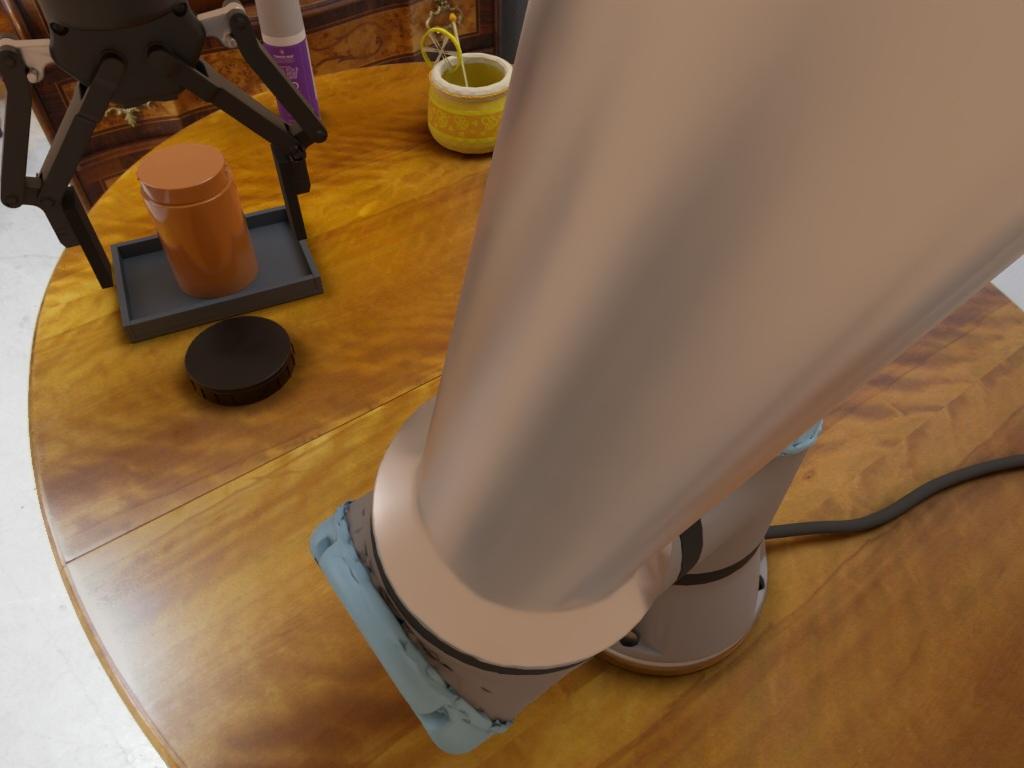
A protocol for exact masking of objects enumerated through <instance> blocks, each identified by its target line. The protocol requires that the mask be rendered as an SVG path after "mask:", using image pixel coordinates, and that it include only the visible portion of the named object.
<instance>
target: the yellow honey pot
mask: <svg viewBox="0 0 1024 768" xmlns="http://www.w3.org/2000/svg"><path fill="white" fill-rule="evenodd" d="M448 20H449V21H450V22H451V25H452V29H453V34H454V35H453V34H452V33H450V32H449V31H448V30H446V29H445V28H442V27H432V28H429V29H428V30H427V31H426V32H425V33H424V34H423V35H422V36H421V40H420V52H421V55H422V58H423V60H424V62H425V63H426V64H427V65H428V66H429V67H430V71H429V73H428V80H429V83H430V85H429V89H428V97H427V98H428V100H427V125H428V126H427V127H428V130H429V132H430V134H431V136H432V138H433V139H434V140H435V141H436V142H437V143H438V144H439V145H440V146H442V147H443V148H445V149H448V150H450V151H453V152H454V151H455V152H458V153H461V154H467V155H468V154H469V155H483V154H488V153H493V152H494V147H495V143H496V139H497V134H498V130H499V126H500V122H501V117H502V113H503V109H504V104H505V100H506V96H507V91H508V87H509V83H510V78H511V74H512V70H513V66H512V65H511V63H509V61H507V60H506V59H503V58H501V57H499V56H497V55H493V54H489V53H483V52H465V53H463V52H462V49H461V44H460V39H459V34H458V33H459V32H458V28H457V24H456V21H457V16H456V14H455V13H454V12H451V13H450V14H449V17H448ZM435 32H437V33H441V34H443V36H444V39H443V41H442V44H441V45H440V43H439V41H438V39H437V37H436V35H435ZM428 36H429V39H431V41H432V43H433V44H434V45H435V47H436V48H434V47H430V46H427V45H426V39H427V37H428ZM449 40H450V41H451V42H452V44H453V45H454V47H455V49H456V51H455V50H444V49H445V47H446V45H447V43H448V42H449ZM427 52H428V53H438V56H437V57H436V59H435V61H434V62H432V61H431V60H430V58H429V56H428V54H427ZM446 55H449V56H446ZM441 58H442V60H440V59H441Z"/></svg>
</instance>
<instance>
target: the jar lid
mask: <svg viewBox="0 0 1024 768" xmlns="http://www.w3.org/2000/svg"><path fill="white" fill-rule="evenodd" d="M296 365H297V363H296V352H295V348H294V345H293V342H292V341H291V337H290V336H289V333H288V332H287V330H286V329H285V328H284V327H283V326H282V325H280V324H279V323H278V322H276V321H274V320H272V319H270V318H266V317H263V316H257V315H240V316H233V317H229V318H225V319H222V320H219V321H218V322H216V323H214V324H211V325H209V326H208V327H207V328H205V329H203V330H202V331H200V332H199V334H197V335H196V336H195V337H194V339H192V341H191V342H190V344H189V345H188V347H187V349H186V351H185V356H184V366H185V367H184V368H185V372H186V373H187V376H188V378H189V381H190V384H191V385H192V388H193V390H194V391H195V392H196V393H198V395H200V396H201V397H202V398H203V399H204V400H206V401H209V402H211V403H214V404H217V405H222V406H233V407H234V406H243V405H248V404H249V405H250V404H254V403H256V402H258V401H261V400H264V399H266V398H268V397H270V396H272V395H273V394H275V393H276V392H277V391H279V390H280V389H282V388H283V386H285V384H286V383H288V381H289V379H290V378H291V377H292V374H293V372H294V369H295V366H296Z"/></svg>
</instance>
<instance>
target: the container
mask: <svg viewBox="0 0 1024 768" xmlns="http://www.w3.org/2000/svg"><path fill="white" fill-rule="evenodd" d="M254 2H255V3H254V4H255V8H256V14H257V17H258V22H259V27H260V32H261V38H262V43H263V47H264V48H265V49H266V50H267V52H268V53H269V54H270V55H271V57H272V58H273V59H274V60H275V62H276V63H277V64H278V65H279V66H280V68H281V69H282V70H283V71H284V73H285V74H286V75H287V76H288V78H289V79H290V80H291V81H292V83H293V84H294V85H295V86H296V88H297V89H298V90H299V91H300V93H301V94H302V95H303V96H304V98H305V99H306V100H307V101H308V103H309V104H310V105H311V106H312V107H313V109H314V110H315V111H316V112H317V114H318V116H319V117H320V119H321V120H322V116H321V111H320V105H319V99H318V95H317V88H316V83H315V82H316V81H315V78H314V71H313V66H312V60H311V56H310V51H309V43H308V38H307V34H306V29H305V24H304V19H303V15H302V9H301V4H300V0H254ZM275 101H276V105H277V110H278V113H279V117H280V118H282V119H283V120H284V121H286V122H287V123H289V124H290V125H292V124H293V123H295V122H296V121H295V120H294V118H293V117H292V116H291V115H290V114H289V112H288V111H287V110H286V109H285V108H284V106H283V105H282V104H281V103H280V102H279V101H278V99H277V98H276V97H275Z"/></svg>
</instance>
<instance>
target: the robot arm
mask: <svg viewBox="0 0 1024 768" xmlns="http://www.w3.org/2000/svg"><path fill="white" fill-rule="evenodd" d="M37 2H38V5H39V6H40V9H41V11H42V14H43V16H44V19H45V21H46V24H47V27H48V29H49V34H48V38H36V39H33V38H32V39H20V38H18V37H17V35H15V34H13V33H10V32H2V33H0V75H1V78H2V81H3V83H4V87H5V101H4V115H3V116H4V117H3V133H2V147H1V162H0V163H1V164H0V203H1V204H2V205H3V206H4V207H6V208H7V209H8V208H9V209H18V208H21V207H22V206H32V207H36V208H38V209H39V210H41V211H42V212H43V213H44V215H45V218H46V219H47V220H48V223H49V224H50V226H51V229H52V230H53V232H54V234H55V235H56V238H57V240H58V241H59V244H61V245H62V246H63V247H65V249H70V248H74V247H79V246H80V248H81V249H82V252H83V253H84V256H85V257H86V260H87V261H88V263H89V266H90V267H91V269H92V271H93V273H94V276H95V277H96V279H97V281H98V284H99V285H100V287H101V289H102V290H106V289H109V288H114V287H115V284H114V278H113V271H112V270H113V269H112V264H111V261H110V259H109V257H108V255H107V253H106V251H105V249H104V246H103V245H102V243H101V240H100V239H99V236H98V234H97V232H96V231H95V229H94V227H93V224H92V221H91V219H90V218H89V215H88V213H87V212H86V210H85V207H84V204H83V203H82V201H81V198H80V197H79V195H78V193H77V190H76V188H75V187H74V185H70V183H71V182H72V179H73V176H74V175H75V172H76V170H77V168H78V166H79V164H80V161H81V159H82V157H83V155H84V153H85V151H86V149H87V147H88V145H89V142H90V140H91V138H92V136H93V134H94V131H95V130H96V128H97V125H99V124H100V123H101V122H102V120H103V117H104V116H105V113H106V112H107V109H108V107H109V105H110V104H113V105H116V106H121V107H122V106H123V108H124V110H128V109H134V108H138V107H140V106H143V105H145V104H148V103H149V102H163V103H165V102H171V101H176V100H179V98H178V96H180V95H181V94H183V93H184V92H185V91H186V90H187V91H188V92H190V93H191V94H193V95H194V96H196V97H197V98H198V99H200V100H201V101H204V102H205V103H207V104H209V103H210V104H212V105H213V106H215V107H216V108H218V109H219V110H221V111H222V112H224V113H225V114H227V115H229V116H230V117H231V118H232V119H234V120H235V121H237V123H240V124H242V125H243V126H244V127H246V128H247V129H249V130H250V131H252V132H253V133H254V134H256V135H258V136H259V137H260V138H262V139H263V140H265V141H266V142H268V143H270V144H269V146H270V150H271V154H272V158H273V162H274V165H275V170H276V174H277V179H278V182H279V186H280V190H281V194H282V199H283V202H284V205H285V207H286V211H287V215H288V219H289V222H290V225H291V227H292V229H293V232H294V234H295V237H296V239H297V241H301V240H305V241H306V240H307V239H308V236H307V231H306V226H305V222H304V218H303V214H302V209H301V204H300V201H299V197H298V196H299V195H304V194H308V193H310V191H311V188H312V184H311V180H310V175H309V171H308V166H307V162H306V158H307V151H306V150H307V149H308V148H309V147H310V146H312V145H314V144H323V143H325V142H326V141H327V139H328V137H329V134H328V130H327V129H326V126H325V125H324V123H323V121H322V118H321V119H320V117H319V116H318V114H317V112H316V111H315V110H314V109H313V107H312V106H311V105H310V104H309V103H308V101H307V100H306V99H305V98H304V96H303V95H302V94H301V93H300V91H299V90H298V89H297V88H296V86H295V85H294V84H293V83H292V81H291V80H290V79H289V78H288V76H287V75H286V74H285V73H284V71H283V70H282V69H281V68H280V66H279V65H278V64H277V63H276V62H275V60H274V59H273V58H272V57H271V55H270V54H269V53H268V52H267V50H266V49H265V48H264V44H262V42H260V40H259V39H258V38H257V36H256V33H255V31H254V28H253V25H252V23H251V20H250V18H249V16H248V14H247V12H246V10H245V8H244V6H243V4H242V2H241V1H240V0H224V1H223V2H222V5H221V7H219V8H216V9H213V10H209V11H205V12H202V13H198V14H197V12H196V11H195V10H194V9H193V8H192V6H191V5H190V4H189V1H188V0H37ZM521 27H522V28H521V31H520V36H519V41H518V44H517V49H516V53H515V57H514V62H513V66H512V67H513V70H512V74H511V78H510V83H509V87H508V91H507V96H506V100H505V104H504V109H503V113H502V117H501V122H500V126H499V130H498V134H497V139H496V143H495V147H494V151H493V152H492V157H491V161H490V165H489V169H488V174H487V178H486V182H485V187H484V191H483V195H482V200H481V204H480V207H479V211H478V217H477V221H476V225H475V229H474V234H473V238H472V244H471V247H470V251H469V256H468V260H467V264H466V268H465V273H464V276H463V282H462V285H461V289H460V294H459V298H458V303H457V306H456V312H455V315H454V320H453V324H452V329H451V332H450V337H449V342H448V346H447V350H446V354H445V359H444V363H443V367H442V372H441V376H440V380H439V384H438V389H437V393H436V394H435V395H433V396H432V397H431V398H429V399H428V400H427V401H425V402H424V403H423V404H422V405H420V406H418V408H416V410H414V411H413V413H412V414H411V415H410V416H409V417H407V419H405V421H404V422H403V423H402V425H401V427H399V429H398V431H397V432H396V433H395V434H394V436H393V438H392V440H391V441H390V443H389V445H388V446H387V448H386V450H385V452H384V454H383V456H382V459H381V461H380V463H379V466H378V469H377V473H376V476H375V480H374V486H373V489H372V490H370V491H368V492H367V493H365V494H364V495H361V496H360V497H358V498H357V499H354V498H353V499H352V498H351V499H348V500H346V501H344V502H343V503H342V504H338V506H337V507H336V509H335V512H334V513H333V514H331V515H330V516H328V517H327V518H326V519H324V520H323V521H321V522H319V524H318V525H317V526H315V528H314V529H313V531H312V532H311V534H310V536H309V541H308V548H309V553H310V555H311V557H312V558H313V559H314V561H315V563H316V564H317V566H318V567H319V569H320V570H321V572H322V574H323V575H324V578H325V579H326V581H327V582H328V584H329V586H331V588H332V591H334V593H335V595H336V596H337V598H338V599H339V601H340V602H341V604H342V606H343V607H344V609H345V610H346V612H347V613H348V615H349V616H350V618H351V619H352V621H353V623H354V624H355V626H356V627H357V629H358V631H359V632H360V633H361V635H362V636H363V638H364V639H365V641H366V643H367V644H368V645H369V647H370V648H371V650H372V652H373V654H375V656H376V658H377V659H378V661H379V662H380V664H381V666H382V667H383V668H384V670H385V672H386V673H387V674H388V676H389V677H390V679H391V681H392V682H393V684H394V685H395V687H396V688H397V690H398V691H399V693H400V694H401V696H402V698H403V699H404V700H405V702H406V703H407V704H408V705H409V707H410V708H411V710H412V711H413V713H414V715H415V716H416V717H417V718H418V720H419V721H420V722H421V725H422V727H423V728H424V730H425V731H426V733H427V734H428V736H429V738H430V739H431V741H432V742H433V743H434V744H435V745H436V747H437V748H438V749H440V750H441V751H443V752H445V753H447V754H450V755H465V754H467V753H469V752H471V751H473V750H475V749H476V748H477V747H479V746H480V745H481V744H483V743H485V742H486V741H487V740H488V739H490V738H491V737H492V736H494V735H497V734H498V735H501V734H504V733H506V732H507V730H508V729H509V728H510V727H511V726H512V725H513V724H514V722H515V720H516V719H515V718H516V717H517V716H518V715H519V714H520V713H522V712H523V711H524V710H525V709H526V708H528V707H529V706H530V705H531V704H532V703H533V702H535V701H536V700H537V699H538V698H539V697H541V696H543V694H545V693H546V692H547V691H548V690H549V689H551V688H552V687H553V686H554V685H555V684H557V683H558V682H560V680H562V679H563V678H565V677H566V676H567V675H568V674H570V673H571V672H573V671H574V670H577V668H579V667H580V666H582V665H583V664H585V663H588V661H590V660H592V659H593V658H595V657H597V658H600V660H603V661H605V662H607V663H609V664H611V665H613V666H616V667H618V668H620V669H624V670H627V671H630V672H633V673H638V674H643V675H649V676H650V675H651V676H663V677H665V676H666V677H668V676H680V675H685V674H686V675H687V674H691V673H694V672H695V673H696V672H699V671H702V670H704V669H708V668H709V667H712V666H714V665H715V664H717V663H720V662H721V661H723V660H724V659H725V658H727V657H728V656H730V655H731V654H732V653H733V652H735V650H737V649H738V648H739V646H740V645H741V644H742V643H743V642H744V641H745V640H746V638H747V636H748V635H749V634H750V632H751V631H752V629H753V627H754V625H755V623H756V622H757V620H758V618H759V616H760V614H761V613H762V610H763V607H764V605H765V602H766V599H767V594H768V588H769V564H768V563H769V562H768V558H767V549H766V540H775V539H784V538H785V539H786V538H792V537H802V536H803V537H804V536H810V535H811V536H812V535H832V534H849V533H850V534H851V533H855V532H861V531H866V530H870V529H872V528H875V527H878V526H880V525H883V524H885V523H887V522H889V521H891V520H893V519H896V518H897V517H899V516H901V515H903V514H904V513H906V512H907V511H908V510H910V509H912V508H914V507H915V506H917V505H918V504H919V503H921V502H923V501H924V500H925V499H927V498H929V497H930V496H932V495H934V494H936V493H937V492H940V491H941V490H944V489H946V488H949V487H951V486H953V485H956V484H959V483H962V482H964V481H968V480H971V479H974V478H977V477H980V476H983V475H986V474H990V473H995V472H1000V471H1003V470H1009V469H1013V468H1014V469H1015V468H1020V467H1024V453H1021V454H1015V455H1010V456H1004V457H998V458H994V459H991V460H987V461H982V462H979V463H975V464H972V465H969V466H968V465H967V466H965V467H963V468H959V469H956V470H954V471H950V472H948V473H945V474H943V475H940V476H937V477H935V478H933V479H931V480H929V481H927V482H925V483H923V484H921V485H920V486H918V487H916V488H915V489H913V490H911V491H910V492H909V493H907V494H905V495H903V496H902V497H900V498H899V499H898V500H896V501H895V502H893V503H891V504H890V505H888V506H885V507H884V508H882V509H880V510H878V511H875V512H873V513H871V514H868V515H865V516H861V517H857V518H852V519H842V520H837V519H836V520H815V521H814V520H811V521H803V522H792V523H783V524H774V525H771V524H772V522H773V521H774V520H773V519H774V518H775V517H776V514H777V512H778V511H779V508H780V507H781V505H782V502H784V501H783V500H784V498H785V497H786V495H787V493H788V490H789V488H790V487H791V485H792V483H793V481H794V479H795V477H796V475H797V473H798V471H799V469H800V467H801V465H802V463H803V461H804V460H805V457H806V455H807V453H808V451H809V450H810V448H812V447H813V446H814V445H815V444H816V442H817V440H818V437H819V436H820V434H822V432H823V425H824V418H825V417H826V416H828V415H829V414H830V413H832V412H833V411H834V410H835V409H836V408H837V407H839V406H840V405H842V404H843V402H845V401H846V400H847V399H848V398H850V397H851V396H852V395H854V394H855V393H856V392H857V391H858V390H859V389H861V388H862V387H863V386H864V385H865V384H867V383H868V382H869V381H870V380H872V379H873V378H874V377H875V376H877V375H878V374H879V373H881V371H883V370H884V369H885V368H886V367H888V366H889V365H890V364H891V363H893V362H894V361H895V360H896V359H898V358H899V357H900V356H901V355H902V354H904V353H905V352H906V351H908V349H910V348H911V347H912V346H914V344H916V343H917V342H918V341H919V340H921V339H922V338H923V337H924V336H926V335H927V334H929V332H931V330H933V329H934V328H935V327H936V326H938V325H939V324H940V323H942V322H943V321H944V320H945V319H946V318H948V317H949V316H950V315H952V314H953V313H954V312H955V311H957V310H958V309H959V308H960V307H961V306H962V305H964V304H965V303H967V301H969V300H970V299H971V298H973V296H975V295H976V294H977V293H978V292H980V291H981V290H982V289H983V288H985V287H986V286H987V285H988V284H989V283H990V282H992V281H993V280H995V278H997V277H998V276H999V275H1001V274H1002V273H1003V272H1004V271H1006V269H1008V268H1009V267H1010V266H1011V265H1013V264H1014V263H1015V262H1016V261H1018V260H1019V259H1020V258H1021V257H1022V256H1024V0H528V2H527V6H526V10H525V14H524V18H523V23H522V26H521ZM208 37H213V38H215V39H217V40H219V41H220V43H221V44H222V45H223V46H224V47H225V48H227V49H232V50H233V49H237V48H238V50H239V52H240V54H241V56H242V58H243V59H244V61H245V62H246V64H247V65H248V66H249V67H250V69H251V70H252V71H253V72H254V74H256V76H257V77H258V78H259V79H260V81H261V82H262V83H263V84H264V85H265V87H266V88H267V89H268V90H269V91H270V92H271V93H272V95H273V96H274V97H275V99H276V98H277V99H278V101H279V102H280V103H281V104H282V105H283V106H284V108H285V109H286V110H287V111H288V112H289V114H290V115H291V116H292V117H293V118H294V120H295V121H296V122H295V123H293V124H292V125H290V124H289V123H287V122H286V121H284V120H283V119H282V118H280V115H277V114H276V113H275V112H274V111H272V110H270V109H269V108H268V107H267V106H265V105H263V103H261V102H260V101H258V100H257V99H255V98H254V97H252V96H251V95H250V94H249V93H247V92H245V91H244V90H242V89H241V88H240V87H239V86H237V85H235V84H234V83H233V82H231V80H229V79H227V78H226V77H224V76H223V75H222V74H220V73H219V72H218V71H216V70H215V69H214V68H213V66H212V65H210V64H209V62H207V61H205V60H204V59H203V58H202V57H201V55H202V53H203V51H204V48H205V46H206V43H207V38H208ZM53 63H54V64H55V65H56V66H57V67H58V68H59V69H61V70H62V71H64V72H65V73H66V74H67V75H69V76H71V77H72V78H74V79H75V80H76V81H77V82H76V84H75V86H74V90H73V95H72V98H71V100H70V102H69V104H68V106H67V110H66V111H65V114H64V115H63V118H62V121H61V123H60V125H59V126H58V127H59V128H58V129H57V131H56V134H55V136H54V138H53V141H52V143H51V145H50V147H49V149H48V152H47V154H46V156H45V158H44V161H43V163H42V166H41V168H40V170H39V172H36V173H35V176H29V175H28V176H27V167H28V154H29V145H30V135H31V134H30V132H31V123H32V110H33V91H32V84H37V83H40V82H41V81H42V80H44V77H45V68H46V67H48V65H50V64H53Z"/></svg>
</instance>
